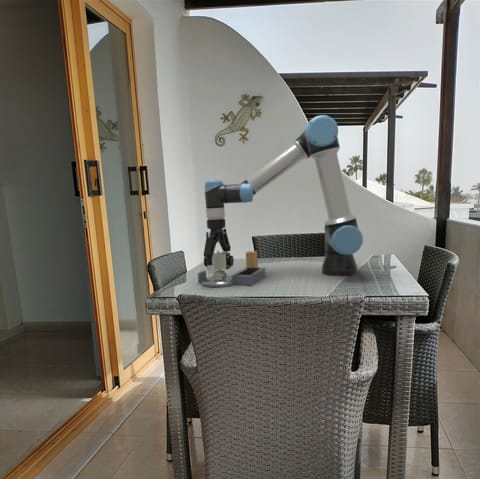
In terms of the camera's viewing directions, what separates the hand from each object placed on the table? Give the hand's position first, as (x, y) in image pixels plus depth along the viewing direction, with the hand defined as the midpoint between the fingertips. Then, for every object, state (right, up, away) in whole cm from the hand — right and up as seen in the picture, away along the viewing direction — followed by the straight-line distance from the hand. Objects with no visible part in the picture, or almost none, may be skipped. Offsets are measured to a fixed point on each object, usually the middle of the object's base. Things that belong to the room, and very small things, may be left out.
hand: (219, 269), depth 148 cm
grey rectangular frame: (+13, -5, +2) cm, 14 cm away
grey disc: (0, -6, +1) cm, 6 cm away
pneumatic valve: (0, -4, +1) cm, 4 cm away
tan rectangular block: (+15, -3, +16) cm, 22 cm away
